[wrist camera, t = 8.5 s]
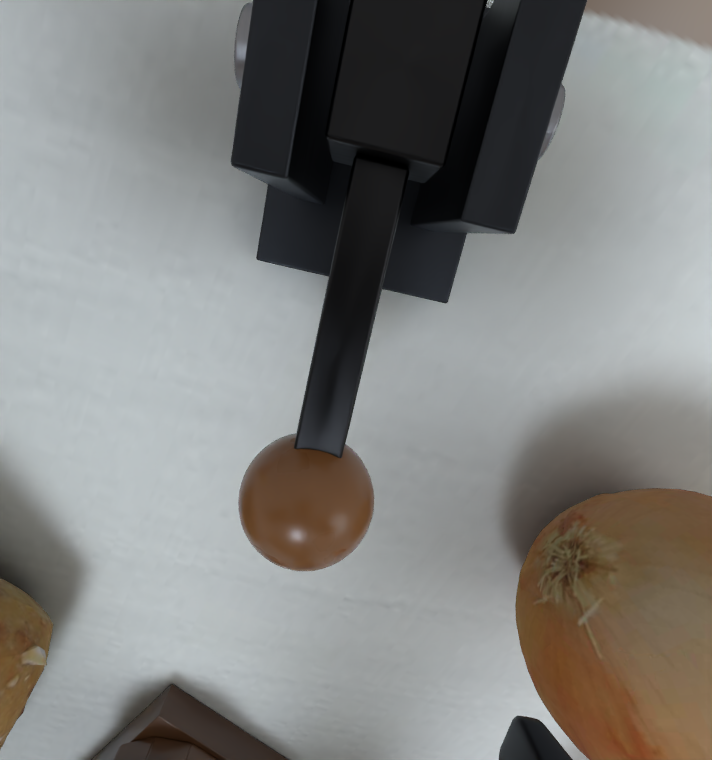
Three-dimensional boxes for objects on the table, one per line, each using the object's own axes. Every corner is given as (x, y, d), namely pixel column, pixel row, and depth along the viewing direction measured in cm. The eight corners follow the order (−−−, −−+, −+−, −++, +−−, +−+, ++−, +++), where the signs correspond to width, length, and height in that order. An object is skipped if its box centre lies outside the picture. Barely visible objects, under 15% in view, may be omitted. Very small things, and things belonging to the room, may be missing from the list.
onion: (560, 404, 20) (750, 569, 10) (759, 498, 21) (1095, 725, 11) (446, 585, 22) (511, 850, 13) (628, 659, 23) (813, 953, 14)
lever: (357, 532, 14) (357, 615, 11) (244, 509, 14) (212, 587, 10) (479, 58, 11) (529, -20, 8) (335, 21, 10) (327, -75, 7)
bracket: (443, 300, 18) (527, 371, 9) (261, 258, 18) (155, 288, 9) (518, 30, 16) (745, -258, 7) (307, -26, 15) (227, -418, 6)
